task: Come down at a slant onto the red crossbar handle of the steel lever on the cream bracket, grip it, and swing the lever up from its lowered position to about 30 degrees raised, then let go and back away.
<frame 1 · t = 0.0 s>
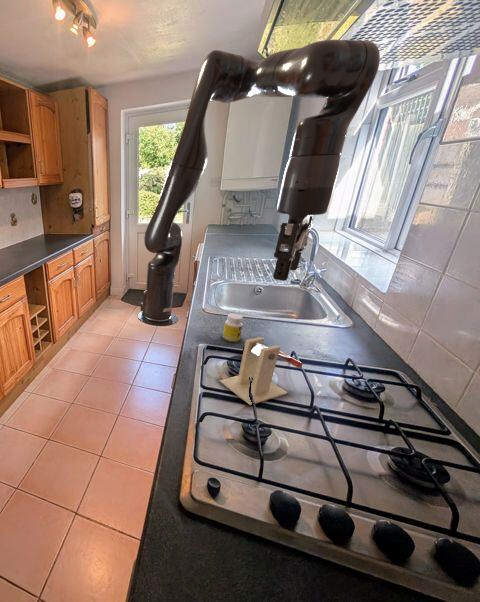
hand: (285, 274, 58), 29 cm above the counter, tool pointing down, fingers open, 8 cm apart
supplement bottle: (230, 341, 93), on the counter
bracket: (251, 390, 71), on the counter
lever: (274, 354, 69), point 9 cm above the counter, hinge at -25.0°
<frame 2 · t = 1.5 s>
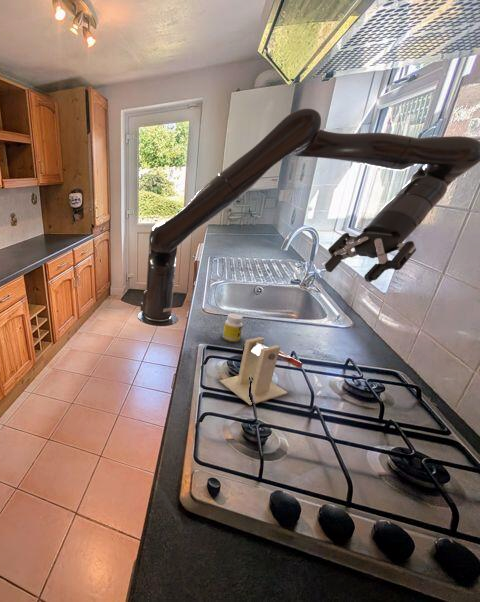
hand: (346, 274, 70), 25 cm above the counter, tool tilted 45°, fingers open, 8 cm apart
nothing on the counter moved.
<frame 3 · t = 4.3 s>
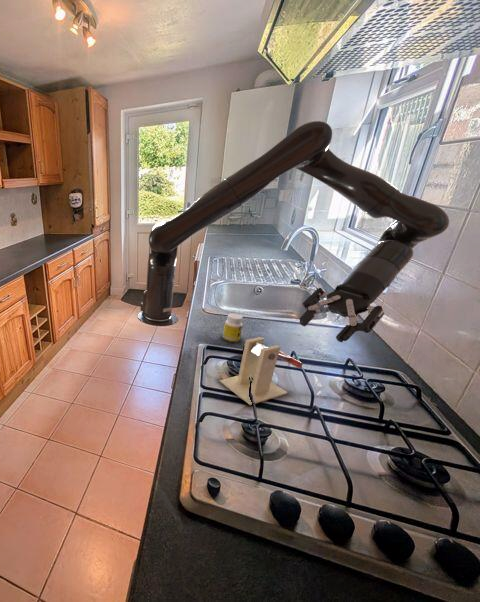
hand: (319, 331, 72), 12 cm above the counter, tool tilted 45°, fingers open, 8 cm apart
nothing on the counter moved.
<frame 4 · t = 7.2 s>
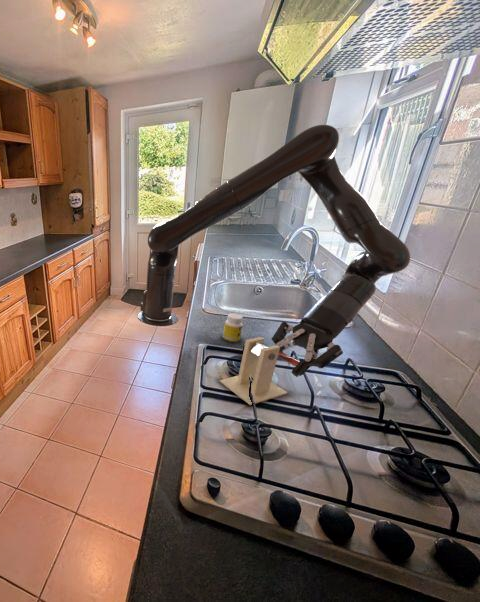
hand: (281, 367, 72), 5 cm above the counter, tool tilted 45°, fingers closed on lever, 5 cm apart
lever: (274, 354, 69), point 9 cm above the counter, hinge at -25.0°, touching gripper
everything else where it was.
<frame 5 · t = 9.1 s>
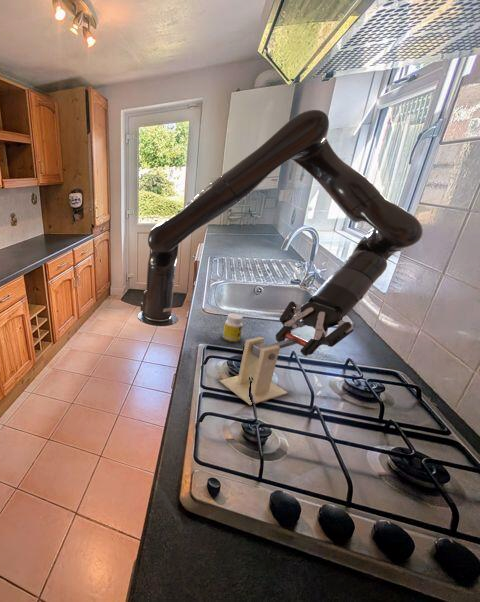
hand: (290, 347, 70), 10 cm above the counter, tool tilted 45°, fingers closed on lever, 5 cm apart
lever: (278, 345, 68), point 11 cm above the counter, hinge at 2.0°, touching gripper
everything else where it was.
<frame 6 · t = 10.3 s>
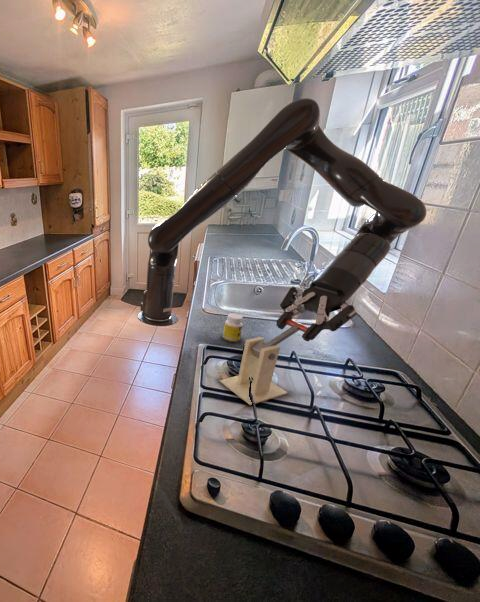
hand: (291, 332, 68), 14 cm above the counter, tool tilted 45°, fingers closed on lever, 5 cm apart
lever: (279, 339, 68), point 13 cm above the counter, hinge at 22.1°, touching gripper
everything else where it was.
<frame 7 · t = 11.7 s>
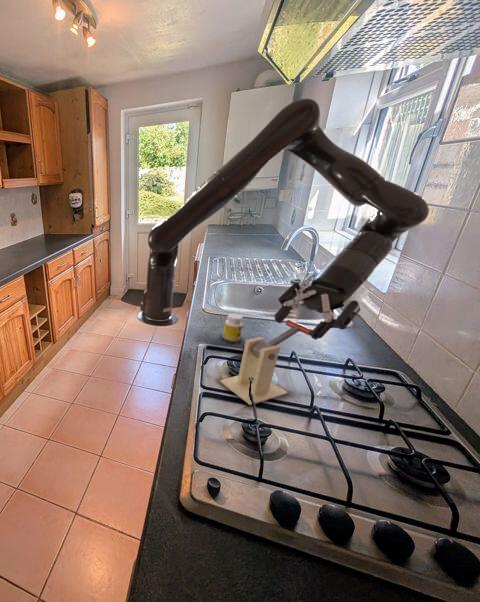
hand: (293, 328, 68), 15 cm above the counter, tool tilted 45°, fingers open, 8 cm apart
lever: (279, 339, 68), point 13 cm above the counter, hinge at 20.5°
everything else where it was.
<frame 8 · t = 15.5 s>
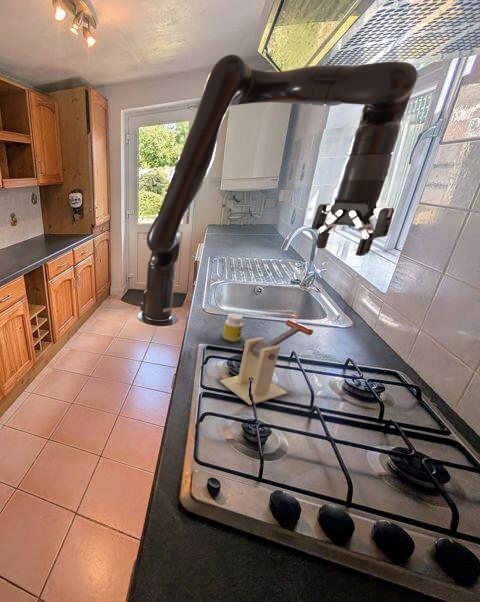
hand: (339, 251, 71), 30 cm above the counter, tool pointing down, fingers open, 8 cm apart
nothing on the counter moved.
at the end: lever at +20° (first picture: -25°); supplement bottle moved 0.2 cm from its start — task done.
